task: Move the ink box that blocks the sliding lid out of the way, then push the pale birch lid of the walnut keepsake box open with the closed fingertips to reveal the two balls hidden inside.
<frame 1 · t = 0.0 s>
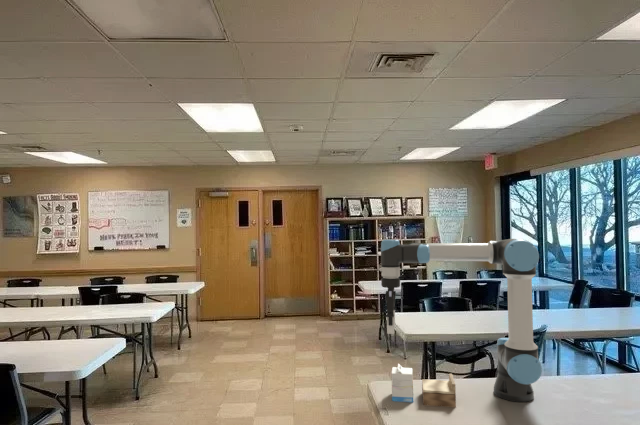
hand: (391, 329, 173), 28 cm above the table, fingers open, 13 cm apart
grey ball: (433, 401, 167), point 1 cm above the table, touching keepsake box
lid: (438, 382, 169), point 8 cm above the table, slide at 0.0 cm
terracotta ball: (443, 398, 170), point 1 cm above the table, touching keepsake box
keepsake box: (438, 401, 169), on the table
ink box: (402, 400, 172), on the table
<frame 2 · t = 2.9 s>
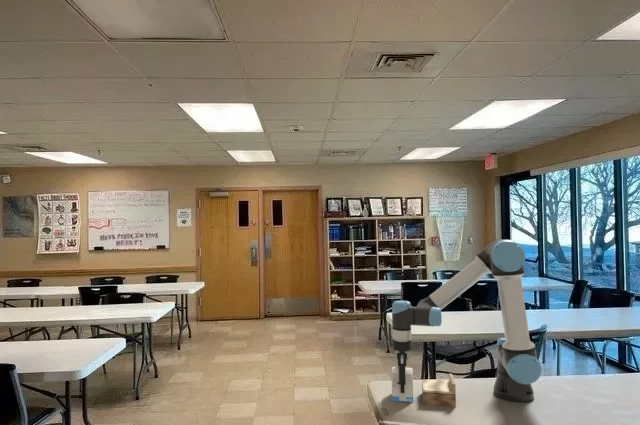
hand: (402, 395, 172), 1 cm above the table, fingers closed on ink box, 8 cm apart
ink box: (402, 400, 172), on the table, touching gripper
everything else where it was.
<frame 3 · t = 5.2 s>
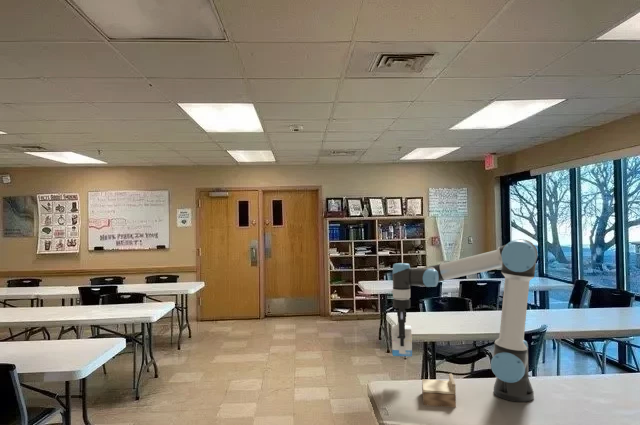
hand: (402, 350, 186), 16 cm above the table, fingers closed on ink box, 8 cm apart
ink box: (402, 354, 186), point 14 cm above the table, touching gripper
everything else where it was.
when the fingers open (3 cm above the table, at t = 7.9 s): ink box drops 1 cm, on the table.
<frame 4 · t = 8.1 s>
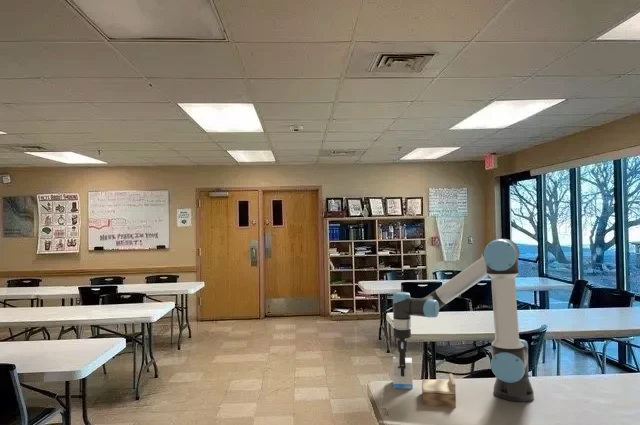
hand: (402, 378, 186), 3 cm above the table, fingers open, 11 cm apart
ink box: (402, 387, 186), on the table
everything else where it was.
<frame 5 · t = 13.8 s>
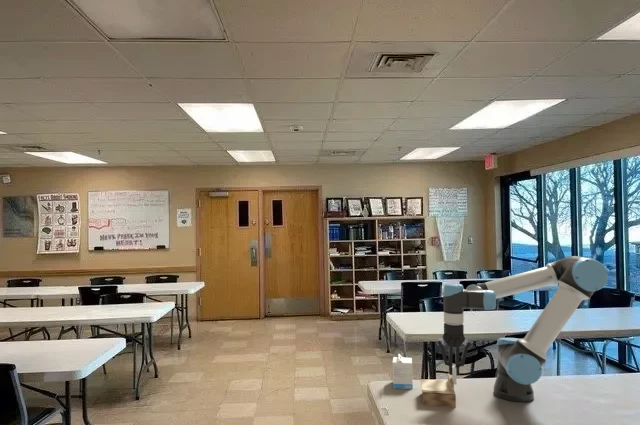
hand: (454, 383, 168), 8 cm above the table, fingers closed
lid: (436, 382, 169), point 8 cm above the table, slide at 0.6 cm, touching gripper
everything else where it was.
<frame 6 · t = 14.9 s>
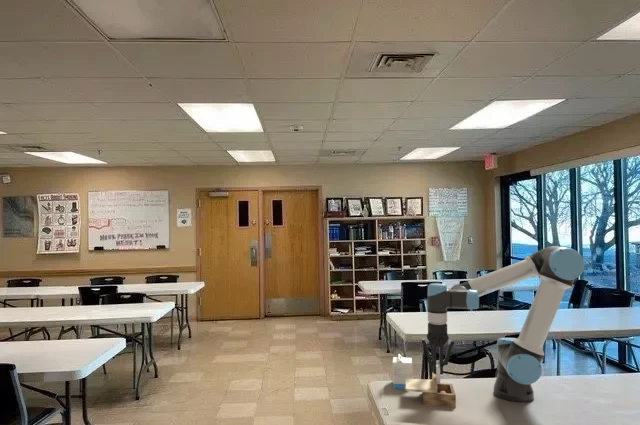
hand: (438, 382, 169), 8 cm above the table, fingers closed
lid: (420, 381, 171), point 8 cm above the table, slide at 6.7 cm, touching gripper
everything else where it was.
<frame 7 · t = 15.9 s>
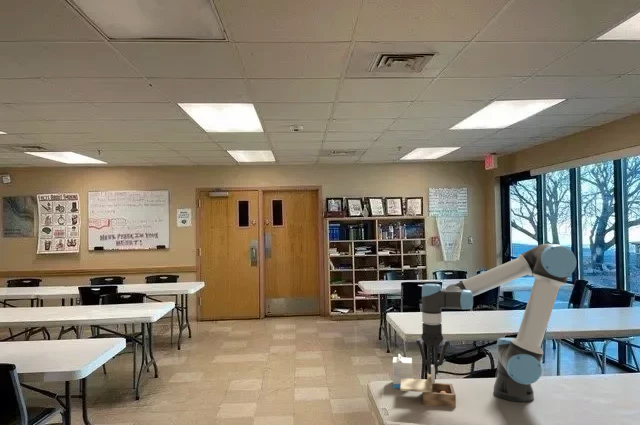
hand: (432, 382, 170), 8 cm above the table, fingers closed
lid: (415, 381, 171), point 8 cm above the table, slide at 8.7 cm, touching gripper
everything else where it was.
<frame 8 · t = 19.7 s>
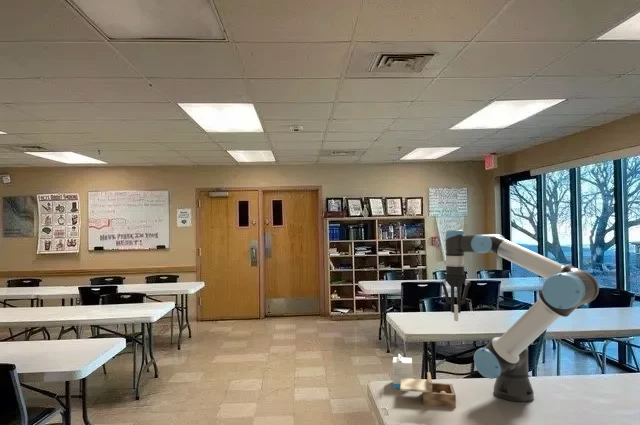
hand: (456, 320, 183), 29 cm above the table, fingers closed
lid: (415, 381, 171), point 8 cm above the table, slide at 8.7 cm
everything else where it was.
at the end: lid slide at 8.7 cm; ink box inside the target area (0.1 cm from its centre), on the table; ink box tilted 0° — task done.
